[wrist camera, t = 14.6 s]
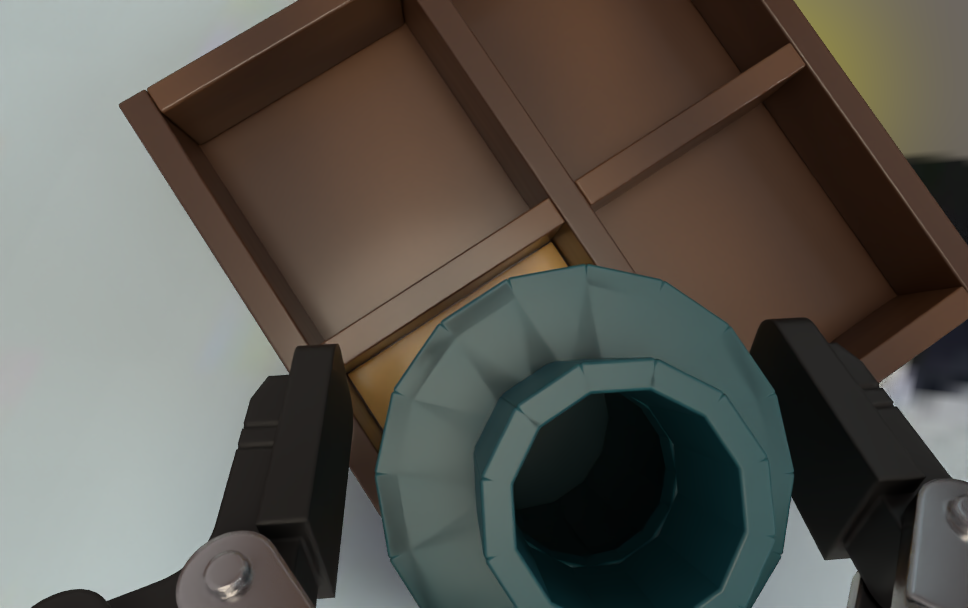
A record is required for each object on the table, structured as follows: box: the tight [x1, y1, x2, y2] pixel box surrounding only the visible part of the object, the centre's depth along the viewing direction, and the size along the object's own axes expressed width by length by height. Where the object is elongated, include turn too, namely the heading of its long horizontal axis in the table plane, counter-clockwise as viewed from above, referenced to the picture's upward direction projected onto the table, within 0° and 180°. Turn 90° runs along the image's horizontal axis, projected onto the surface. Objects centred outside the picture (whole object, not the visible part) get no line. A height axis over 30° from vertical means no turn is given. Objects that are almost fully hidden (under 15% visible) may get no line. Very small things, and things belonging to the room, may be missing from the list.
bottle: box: [375, 264, 794, 608], centre depth 12 cm, size 6×6×12 cm
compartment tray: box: [119, 0, 968, 518], centre depth 18 cm, size 17×17×3 cm
